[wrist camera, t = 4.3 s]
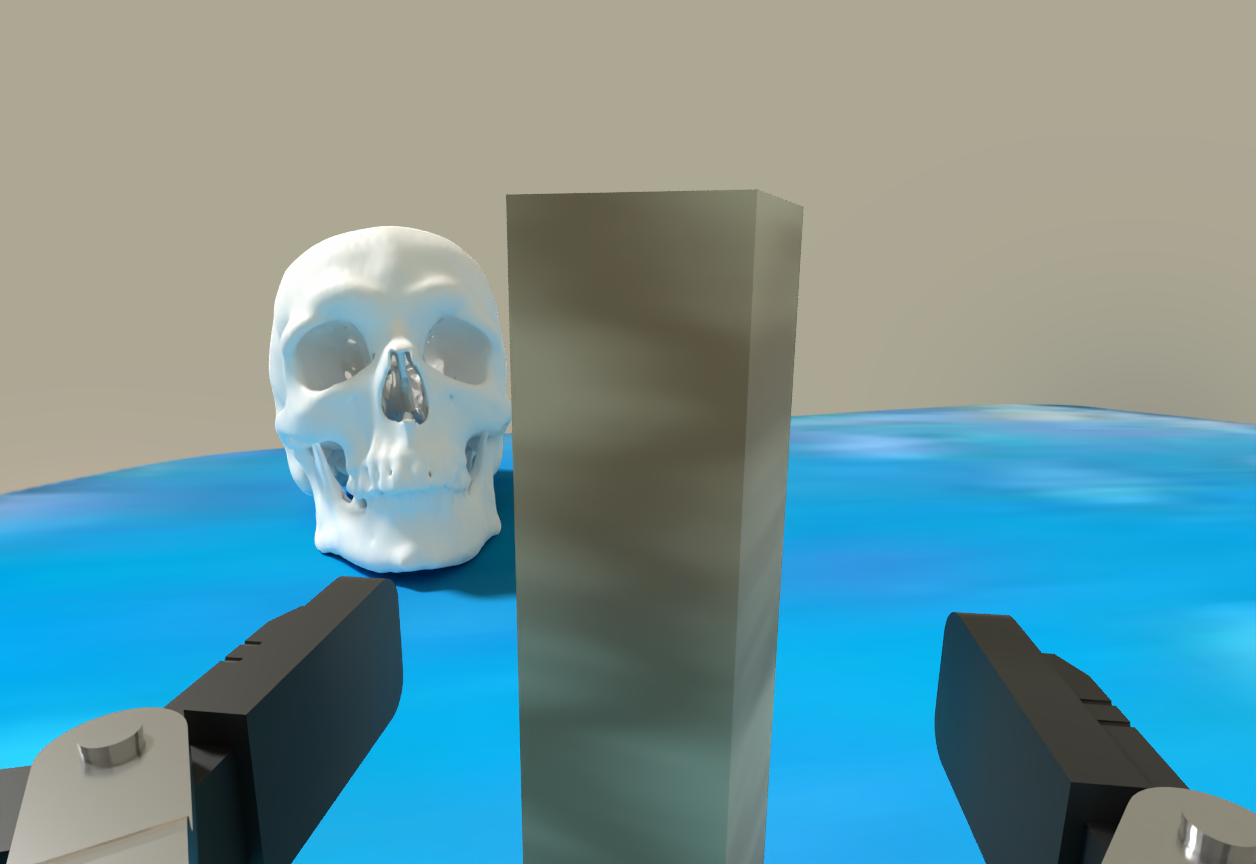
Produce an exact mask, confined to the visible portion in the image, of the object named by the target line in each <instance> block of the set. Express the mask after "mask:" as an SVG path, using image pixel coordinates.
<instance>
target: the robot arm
mask: <svg viewBox="0 0 1256 864" xmlns="http://www.w3.org/2000/svg"><path fill="white" fill-rule="evenodd" d="M402 685H403V665H402V650H401V635H400V619H399V604H398V593H397V589H396V586H395V584H394V582H393V581H392V580H390V579H381V578H364V577H346V576H341V577H339V578H337V579H336V580H334V581H333V582H332V583H331V584H330V585H329V586H327V587H326V588H325V589H324V590H323V591H322V592H320V593H319V594H318V595H317V596H316V597H315V598H313V599H312V600H311V601H310V602H309V603H308V604H306V605H305V606H301V607H299V608H297V609H294V610H292V611H290V612H288V613H286V614H284V615H282V616H280V617H277V618H275V619H273V620H271V621H269V622H267V623H266V624H265V625H264V626H263V627H261V628H260V629H259V630H258V631H256V632H255V633H254V634H253V635H252V636H250V637H249V638H248V639H247V640H245V644H244V645H239V646H238V647H237V648H236V649H235V650H233V651H232V652H231V653H230V654H228V655H227V656H226V658H225V661H220V662H219V663H217V664H216V665H215V666H214V667H213V668H211V669H210V670H209V671H208V672H207V673H205V674H204V675H203V676H202V677H200V678H199V679H198V680H197V681H196V682H194V683H193V684H192V685H191V686H189V687H188V688H187V689H186V690H185V691H183V692H182V693H181V694H180V695H178V696H177V697H176V698H175V699H174V700H172V701H171V702H170V703H169V704H168V705H166V706H165V707H164V708H153V707H150V708H136V709H129V710H124V711H119V712H115V713H111V714H108V715H104V716H101V717H98V718H96V719H93V720H90V721H88V722H86V723H83V724H81V725H79V726H77V727H75V728H73V729H71V730H69V731H67V732H65V733H64V734H62V735H61V736H59V737H57V738H56V739H55V740H53V741H52V742H51V743H49V744H48V745H47V746H46V747H45V748H44V749H43V750H42V751H41V752H40V753H39V754H38V755H37V757H36V758H35V759H34V761H33V764H32V766H25V767H17V768H9V769H1V770H0V864H291V863H292V862H293V860H294V859H295V857H296V856H297V854H298V853H299V852H300V850H301V849H302V847H303V846H304V844H305V843H306V842H307V840H308V839H309V837H310V836H311V834H312V833H313V831H314V830H315V829H316V827H317V826H318V824H319V823H320V821H321V820H322V819H323V817H324V816H325V814H326V813H327V811H328V810H329V809H330V807H331V806H332V804H333V803H334V801H335V800H336V798H337V797H338V796H339V794H340V793H341V791H342V790H343V788H344V787H345V786H346V784H347V783H348V781H349V780H350V778H351V777H352V776H353V774H354V773H355V771H356V770H357V768H358V767H359V765H360V764H361V763H362V761H363V760H364V758H365V757H366V755H367V754H368V753H369V751H370V750H371V748H372V747H373V745H374V744H375V743H376V741H377V740H378V738H379V737H380V735H381V734H382V732H383V731H384V730H385V728H386V727H387V725H388V724H389V722H390V721H391V720H392V718H393V716H394V714H395V712H396V710H397V707H398V704H399V701H400V697H401V692H402ZM935 737H936V744H937V749H938V754H939V757H940V760H941V763H942V765H943V768H944V770H945V772H946V774H947V777H948V779H949V781H950V783H951V786H952V788H953V790H954V792H955V795H956V797H957V799H958V801H959V804H960V806H961V808H962V810H963V813H964V815H965V817H966V819H967V822H968V824H969V826H970V828H971V831H972V833H973V835H974V837H975V840H976V842H977V844H978V846H979V849H980V851H981V853H982V855H983V858H984V860H985V862H986V864H1256V814H1255V813H1253V812H1251V811H1249V810H1247V809H1245V808H1244V807H1241V806H1239V805H1237V804H1234V803H1232V802H1230V801H1227V800H1224V799H1222V798H1219V797H1216V796H1213V795H1210V794H1206V793H1202V792H1199V791H1194V790H1190V789H1189V788H1188V787H1187V786H1186V785H1185V783H1184V782H1183V781H1182V780H1181V779H1180V778H1179V777H1178V776H1177V774H1176V773H1175V772H1174V771H1173V770H1172V769H1171V768H1170V767H1169V765H1168V764H1167V763H1166V762H1165V761H1164V760H1163V759H1162V758H1161V756H1160V755H1159V754H1158V753H1157V752H1156V751H1155V750H1154V748H1153V747H1152V746H1151V745H1150V744H1149V743H1148V742H1147V741H1146V739H1145V738H1144V737H1143V736H1142V735H1141V734H1140V733H1139V732H1138V730H1137V729H1136V728H1134V727H1130V721H1129V720H1128V719H1127V718H1126V717H1125V716H1124V715H1123V714H1122V712H1121V711H1120V710H1119V709H1118V708H1117V707H1116V706H1112V704H1111V700H1110V699H1109V698H1108V697H1107V695H1106V694H1105V693H1104V692H1103V691H1102V690H1101V689H1100V688H1099V686H1098V685H1097V684H1096V683H1095V682H1094V681H1093V680H1092V679H1091V677H1090V676H1088V675H1087V674H1085V673H1084V672H1082V671H1080V670H1079V669H1077V668H1076V667H1074V666H1073V665H1071V664H1069V663H1068V662H1066V661H1065V660H1063V659H1061V658H1060V657H1058V656H1057V655H1055V654H1047V653H1041V652H1040V650H1039V649H1038V648H1037V647H1036V645H1035V644H1034V643H1033V642H1032V641H1031V639H1030V638H1029V637H1028V636H1027V634H1026V633H1025V632H1024V631H1023V630H1022V628H1021V627H1020V626H1019V625H1018V623H1017V622H1016V621H1015V620H1014V619H1013V618H1012V617H1011V616H1009V615H994V614H976V613H959V612H952V613H951V614H950V615H949V616H948V618H947V621H946V625H945V630H944V638H943V647H942V656H941V665H940V673H939V682H938V691H937V700H936V708H935Z"/></svg>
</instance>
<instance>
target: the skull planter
mask: <svg viewBox="0 0 1256 864" xmlns="http://www.w3.org/2000/svg"><path fill="white" fill-rule="evenodd" d="M269 377H270V382H271V386H272V391H273V395H274V400H275V406H276V420H275V429H276V432H277V434H278V436H279V437H280V439H281V441H282V443H283V445H284V447H285V450H286V453H287V459H288V463H289V467H290V472H291V475H292V477H293V479H294V481H295V483H296V484H297V485H298V486H299V488H300V489H301V490H302V491H303V492H304V493H306V494H307V495H309V496H311V497H313V496H314V499H315V505H316V521H317V526H316V533H315V545H316V547H317V549H318V550H319V551H321V552H322V553H329V552H332V553H334V554H336V555H338V554H339V555H340V556H342V557H343V558H345V559H347V560H348V561H350V562H352V563H354V564H355V565H358V566H360V567H362V568H365V569H367V570H371V571H374V572H378V573H386V572H394V573H399V572H411V571H417V570H422V569H437V568H442V567H449V566H455V565H459V564H462V563H465V562H467V561H469V560H470V559H472V558H473V557H475V556H476V555H477V554H478V553H479V551H480V549H481V547H482V546H483V545H484V543H485V542H486V541H487V540H488V539H489V538H491V537H492V536H494V535H498V534H499V533H500V530H501V522H500V519H499V516H498V513H497V509H496V502H495V493H494V485H493V476H494V475H495V474H496V472H497V470H498V468H499V466H500V463H501V459H502V454H503V434H504V433H505V431H506V428H507V426H508V424H509V423H510V421H511V420H512V403H511V402H510V401H509V399H508V398H507V396H506V393H505V392H506V381H507V361H506V355H505V349H504V343H503V337H502V333H501V329H500V326H499V323H498V309H497V304H496V301H495V298H494V296H493V293H492V291H491V288H490V286H489V283H488V281H487V279H486V277H485V274H484V272H483V270H482V269H481V267H480V266H479V264H478V263H477V262H475V260H474V259H473V258H471V257H470V256H469V255H468V254H467V253H466V252H465V251H464V250H463V249H461V248H460V247H459V246H458V245H456V244H455V243H453V242H452V241H450V240H448V239H446V238H444V237H442V236H439V235H436V234H433V233H430V232H427V231H423V230H419V229H414V228H407V227H398V226H382V227H372V228H367V229H362V230H356V231H351V232H347V233H343V234H340V235H336V236H333V237H331V238H328V239H326V240H324V241H322V242H320V243H318V244H316V245H314V246H313V247H311V248H310V249H308V250H307V251H306V252H305V253H303V254H302V255H301V256H299V258H297V259H296V260H295V261H294V262H293V263H292V264H291V265H290V266H289V267H288V269H287V270H286V272H285V274H284V276H283V279H282V281H281V283H280V286H279V289H278V293H277V296H276V299H275V306H274V321H273V328H272V335H271V342H270V352H269ZM343 486H346V487H347V490H348V492H349V493H350V494H352V495H353V496H354V497H353V500H350V499H349V498H348V497H347V495H346V493H345V491H344V489H343V488H342V487H343Z"/></svg>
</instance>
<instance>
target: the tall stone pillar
mask: <svg viewBox="0 0 1256 864" xmlns="http://www.w3.org/2000/svg"><path fill="white" fill-rule="evenodd" d="M506 202H507V241H508V243H507V244H508V283H509V322H510V362H511V400H512V401H511V403H512V442H513V482H514V521H515V561H516V600H517V640H518V680H519V719H520V759H521V798H522V838H523V864H764V848H765V831H766V815H767V798H768V782H769V765H770V749H771V733H772V716H773V700H774V683H775V667H776V651H777V634H778V618H779V601H780V585H781V569H782V552H783V536H784V519H785V503H786V486H787V470H788V454H789V437H790V421H791V404H792V388H793V371H794V355H795V339H796V322H797V306H798V305H797V304H798V289H799V272H800V255H801V239H802V224H803V206H800V205H797V204H795V203H792V202H789V201H787V200H784V199H781V198H779V197H776V196H773V195H771V194H768V193H765V192H762V191H760V190H713V191H667V192H619V193H618V192H617V193H570V194H569V193H568V194H521V195H506Z"/></svg>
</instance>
